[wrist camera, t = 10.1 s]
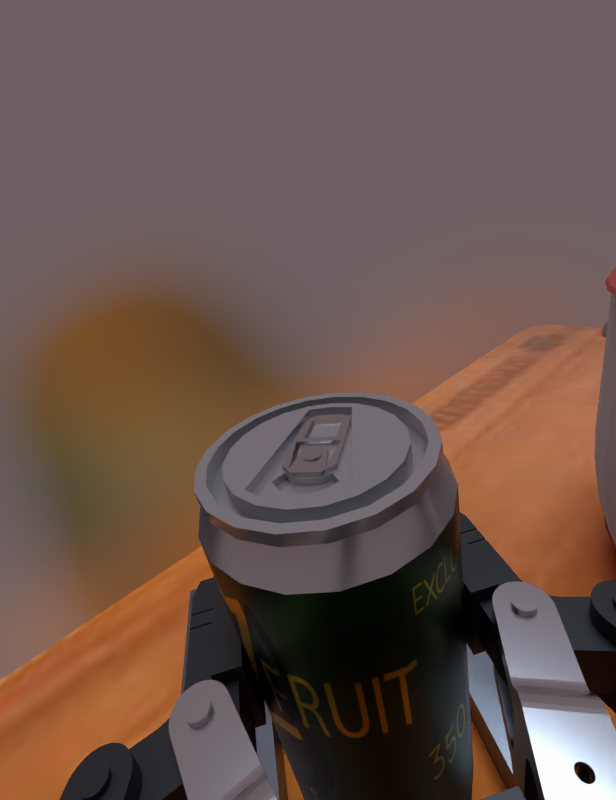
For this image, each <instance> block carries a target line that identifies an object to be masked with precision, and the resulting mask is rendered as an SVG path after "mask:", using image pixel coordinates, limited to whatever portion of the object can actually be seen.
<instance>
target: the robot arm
mask: <svg viewBox="0 0 616 800" xmlns="http://www.w3.org/2000/svg"><path fill="white" fill-rule="evenodd" d="M459 514H460V532H461V550H462V569H463V587H464V605H465V623H466V642H467V645H468V646H469V648H470V650H471V651H472V653H473V655H475V654H478V653H481V652H484V651H486V653H487V654H488V656H489V657H490V659H491V661H492V662H493V672H494V678H495V682H496V687H497V692H498V697H499V702H500V707H501V712H502V717H503V721H504V726H505V731H506V736H507V741H508V746H509V751H510V756H511V762H512V770H513V779H514V787H513V788H510V789H508V790H505V791H502V792H500V793H497V794H494V795H492V796H489V797H486V798H484V799H481V800H616V731H615V729H614V726H613V724H612V721H611V719H610V716H609V714H608V712H607V709H606V707H605V705H604V704H603V702H604V703H606V704H607V705H608V706H609V707H610V708H611V709H612V710H613V711H614V712H615V713H616V581H605V582H601V583H599V584H597V585H596V586H595V587H594V588H593V590H592V593H591V597H556V596H550V595H547V594H546V593H545V592H544V591H543V590H541V589H539V588H538V587H536V586H534V585H531V584H528V583H524V582H522V581H521V580H520V579H519V578H518V576H517V575H516V574H515V573H514V572H513V571H512V569H511V568H510V567H509V566H508V565H507V564H506V562H505V561H504V560H503V559H502V558H501V557H500V555H499V554H498V553H497V552H496V551H495V550H494V548H493V547H492V546H491V545H490V544H489V542H488V541H486V540H485V538H484V537H483V535H482V534H481V533H480V532H479V531H477V529H476V527H475V526H474V525H473V524H472V523H471V521H470V520H469V519H468V518H467V517H466V516H465V515H463V514H462V513H460V512H459ZM602 701H603V702H602ZM265 724H266V713H265V701H264V698H263V695H262V693H261V690H260V688H259V685H258V683H257V680H256V678H255V676H254V673H253V671H252V668H251V666H250V663H249V661H248V658H247V656H246V653H245V651H244V648H243V646H242V643H241V641H240V639H239V636H238V634H237V631H236V629H235V626H234V624H233V621H232V619H231V617H230V614H229V612H228V609H227V607H226V604H225V602H224V599H223V597H222V594H221V592H220V589H219V587H218V584H217V582H216V579H215V577H214V578H210V579H207V580H204V581H201V582H200V584H199V586H198V588H197V590H196V592H195V594H194V596H193V598H192V609H191V620H190V632H189V643H188V654H187V665H186V676H185V686H184V691H183V694H182V695H181V696H180V698H179V699H178V700H177V702H176V704H175V705H174V707H173V710H172V712H171V715H170V718H169V719H168V720H167V721H166V722H165V723H164V724H163V725H162V726H161V727H160V728H158V729H157V730H156V731H154V732H153V733H152V734H150V735H149V736H147V737H146V738H144V739H143V740H142V741H140V742H139V743H137V744H136V745H134V746H133V747H132V748H130V749H128V748H127V747H126V746H124V745H123V744H120V743H110V744H106V745H103V746H101V747H99V748H98V749H96V750H94V751H93V752H92V753H90V754H89V755H88V756H87V757H86V758H85V759H84V760H83V761H82V762H81V763H80V764H79V765H78V767H77V768H76V769H75V771H74V772H73V774H72V775H71V777H70V779H69V781H68V783H67V785H66V787H65V789H64V791H63V794H62V796H61V798H60V800H278V799H277V797H276V795H275V793H274V791H273V788H272V786H271V784H270V782H269V780H268V777H267V775H266V773H265V771H264V769H263V766H262V764H261V762H260V760H259V758H258V755H257V745H256V729H255V728H257V727H260V726H262V725H265Z"/></svg>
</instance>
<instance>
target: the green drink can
mask: <svg viewBox="0 0 616 800" xmlns="http://www.w3.org/2000/svg"><path fill="white" fill-rule="evenodd" d="M194 492H195V495H196V498H197V500H198V503H199V504H200V513H199V532H198V537H199V540H200V542H201V545H202V547H203V550H204V552H205V555H206V557H207V560H208V562H209V565H210V567H211V570H212V572H213V574H214V577H215V579H216V582H217V584H218V587H219V589H220V592H221V594H222V597H223V599H224V602H225V604H226V607H227V609H228V612H229V614H230V617H231V619H232V621H233V624H234V626H235V629H236V631H237V634H238V636H239V639H240V641H241V643H242V646H243V648H244V651H245V653H246V656H247V658H248V661H249V663H250V666H251V668H252V671H253V673H254V676H255V678H256V680H257V683H258V685H259V688H260V690H261V693H262V695H263V698H264V701H265V703H266V705H267V708H268V710H269V713H270V715H271V718H272V720H273V723H274V725H275V728H276V730H277V733H278V735H279V738H280V740H281V743H282V745H283V747H284V750H285V752H286V755H287V757H288V760H289V762H290V765H291V767H292V770H293V772H294V775H295V777H296V780H297V782H298V785H299V787H300V790H301V792H302V794H303V797H304V799H305V800H471V799H472V780H473V752H472V733H471V715H470V697H469V678H468V660H467V642H466V623H465V605H464V587H463V569H462V550H461V532H460V514H459V495H458V484H457V481H456V479H455V476H454V474H453V471H452V468H451V466H450V463H449V461H448V459H447V458H446V456H445V455H444V454H443V446H442V439H441V437H440V434H439V431H438V429H437V426H436V424H435V421H434V420H433V419H432V418H430V417H429V416H428V415H427V414H426V413H424V412H423V411H422V410H421V409H420V408H418V407H417V406H415V405H413V404H410V403H407V402H405V401H402V400H400V399H397V398H394V397H390V396H383V395H377V394H371V393H332V394H325V395H318V396H311V397H305V398H302V399H298V400H294V401H291V402H287V403H283V404H280V405H277V406H275V407H272V408H270V409H267V410H265V411H263V412H260V413H258V414H255V415H253V416H251V417H249V418H247V419H246V420H244V421H243V422H241V423H239V424H238V425H236V426H234V427H233V428H231V429H230V430H228V431H226V432H225V433H224V434H223V435H222V436H221V437H220V438H219V439H218V440H217V441H216V442H215V443H214V444H213V445H211V446H210V447H209V448H208V449H207V451H206V453H205V454H204V456H203V458H202V459H201V461H200V463H199V465H198V466H197V468H196V472H195V484H194Z"/></svg>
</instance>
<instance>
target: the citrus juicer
mask: <svg viewBox="0 0 616 800" xmlns="http://www.w3.org/2000/svg"><path fill="white" fill-rule="evenodd" d="M605 283H606V286H607V290H608V291H609V292H611V302H610V309H609V318H608V322H606V324H605V325H604V327H603V330H602V336H603V337H606V344H605V352H604V361H603V369H602V378H601V386H600V395H599V403H598V412H597V421H596V434H595V465H596V475H597V482H598V490H599V498H600V502H601V505H602V509H603V512H604V517H605V527H606V529H607V532H608V534H609V536H610V539H611V541H612V543H613V546H614V548H615V550H616V268H615V269H614V270H613V271H612V272H611V274H610V275H609V277H608V278H607V280H606V282H605Z"/></svg>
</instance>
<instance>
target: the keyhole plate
mask: <svg viewBox="0 0 616 800" xmlns="http://www.w3.org/2000/svg"><path fill="white" fill-rule="evenodd" d="M196 590H197V589H195V590H192V591H191V592H190V603H189V614H188V625H187V636H186V647H185V658H184V669H183V680H182V691H181V695H182V694H183V691H184V686H185V676H186V665H187V654H188V643H189V632H190V620H191V609H192V598H193V596H194V594H195V592H196ZM467 660H468V678H469V697H470V715H471V718H472V720H473V722H474V724H475V726H476V728H477V730H478V732H479V734H480V736H481V738H482V740H483V742H484V744H485V746H486V748H487V750H488V752H489V754H490V756H491V758H492V760H493V762H494V764H495V766H496V768H497V770H498V772H499V774H500V776H501V778H502V780H503V782H504V784H505V785H506V787H507V789H510V788H513V787H514V779H513V770H512V762H511V756H510V751H509V746H508V741H507V736H506V731H505V726H504V721H503V717H502V712H501V707H500V702H499V697H498V692H497V687H496V682H495V678H494V672H493V662H492V661H491V659H490V657H489V656H488V654H487V653H486V651H484V652H481V653H478V654H475V655H473V653H472V651H471V650H470V648H469V646H468V645H467ZM265 713H266V724H265V725H262V726H260V727H257V728H255V729H256V745H257V755H258V758H259V760H260V762H261V764H262V766H263V769H264V771H265V773H266V775H267V777H268V780H269V782H270V784H271V786H272V788H273V791H274V793H275V795H276V797H277V799H278V800H288V796H287V787H286V778H285V769H284V760H283V751H282V743H281V740H280V738H279V735H278V733H277V730H276V728H275V725H274V723H273V720H272V718H271V715H270V713H269V710H268V708H267V705H266V703H265Z"/></svg>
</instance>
